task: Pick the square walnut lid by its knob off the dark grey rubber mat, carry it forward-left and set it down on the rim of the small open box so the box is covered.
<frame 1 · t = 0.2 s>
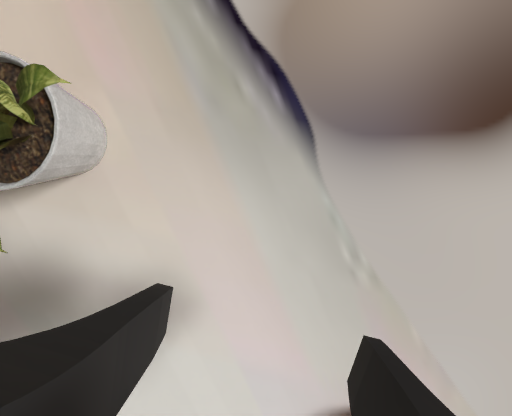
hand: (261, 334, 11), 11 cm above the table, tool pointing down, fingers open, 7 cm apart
house plant: (55, 137, 22), on the table
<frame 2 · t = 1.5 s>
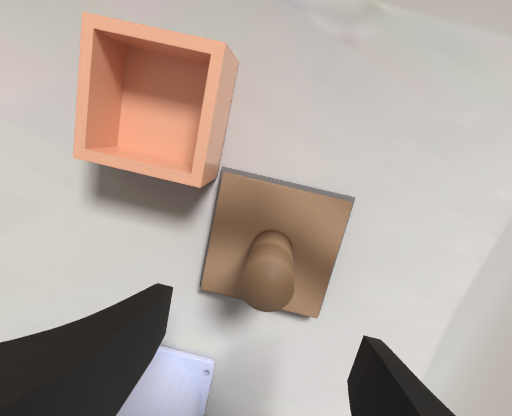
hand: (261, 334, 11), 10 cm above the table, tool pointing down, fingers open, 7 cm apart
open box: (173, 109, 19), on the table
mat: (272, 243, 21), on the table
lid: (272, 244, 20), resting on mat
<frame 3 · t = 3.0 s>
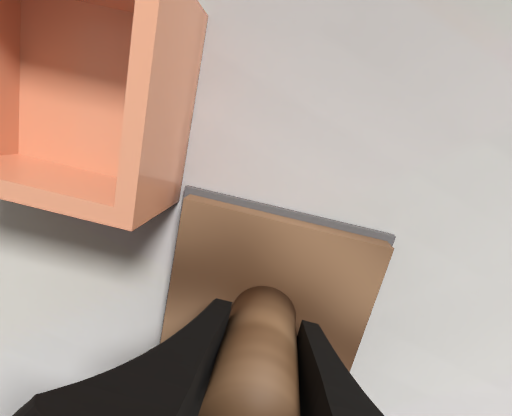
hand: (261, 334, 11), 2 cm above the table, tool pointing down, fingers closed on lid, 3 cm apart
open box: (106, 96, 12), on the table
mat: (265, 300, 13), on the table
lid: (264, 304, 13), resting on mat, touching gripper
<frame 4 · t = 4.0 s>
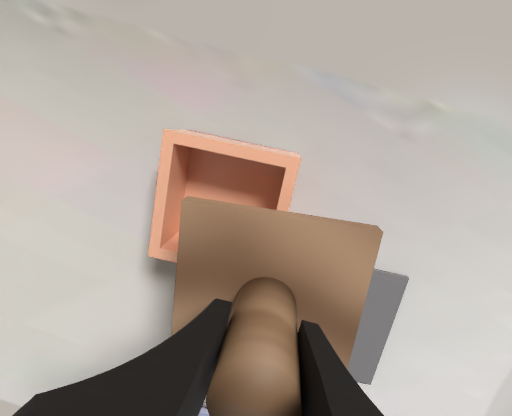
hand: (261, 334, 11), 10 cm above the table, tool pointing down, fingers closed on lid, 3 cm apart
open box: (232, 195, 20), on the table
mat: (326, 317, 21), on the table
lid: (266, 294, 14), point 7 cm above the table, touching gripper
when the fingers open (7 cm above the table, at t = 4.9 s): lid stays where it is, resting on open box.
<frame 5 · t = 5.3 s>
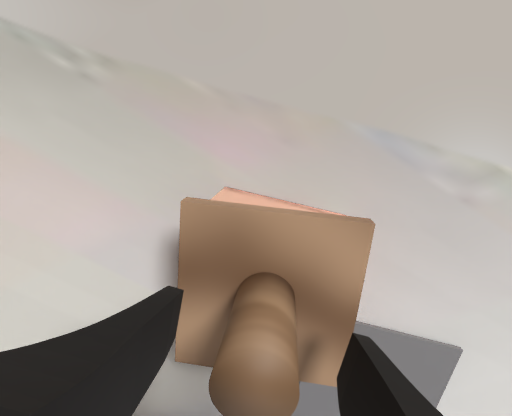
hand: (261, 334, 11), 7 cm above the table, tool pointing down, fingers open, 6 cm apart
open box: (271, 256, 18), on the table
mat: (368, 385, 20), on the table
lid: (266, 290, 14), point 4 cm above the table, touching open box
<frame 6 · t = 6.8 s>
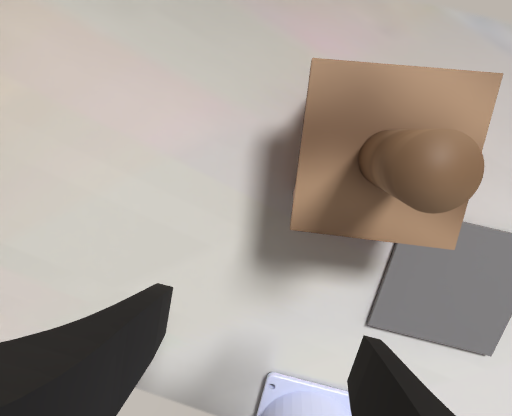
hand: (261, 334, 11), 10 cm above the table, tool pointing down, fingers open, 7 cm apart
mat: (450, 284, 20), on the table
lid: (381, 157, 15), point 4 cm above the table, touching open box
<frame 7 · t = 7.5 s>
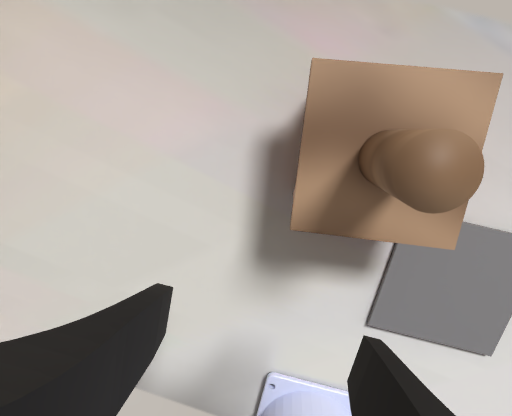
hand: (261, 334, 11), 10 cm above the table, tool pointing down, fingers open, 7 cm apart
mat: (450, 284, 20), on the table
lid: (382, 157, 15), point 4 cm above the table, touching open box
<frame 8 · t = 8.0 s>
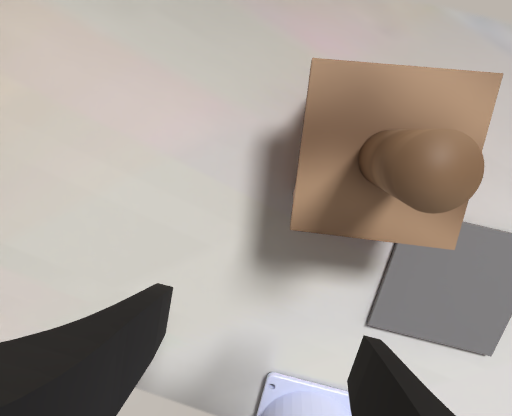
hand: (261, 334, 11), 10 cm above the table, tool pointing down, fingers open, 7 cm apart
mat: (450, 284, 20), on the table
lid: (382, 157, 15), point 4 cm above the table, touching open box
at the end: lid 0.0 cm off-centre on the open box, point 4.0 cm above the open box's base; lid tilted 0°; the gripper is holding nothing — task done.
